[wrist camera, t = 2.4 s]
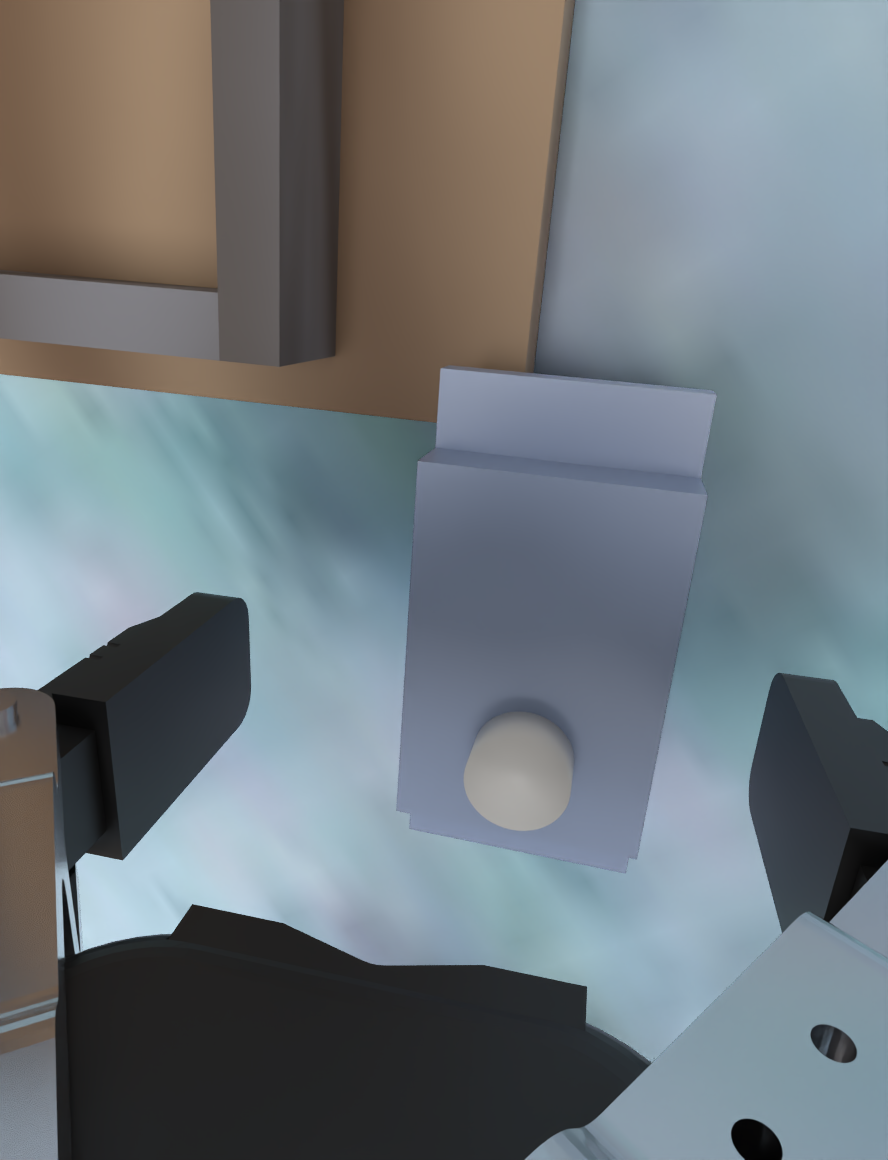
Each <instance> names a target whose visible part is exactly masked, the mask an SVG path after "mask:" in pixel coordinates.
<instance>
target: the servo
mask: <svg viewBox="0 0 888 1160" xmlns="http://www.w3.org/2000/svg"><path fill="white" fill-rule="evenodd" d="M716 397H717V394H716V393H715V392H714V391H713V390H704V389H694V388H683V387H673V386H662V385H652V384H641V383H631V382H620V381H610V380H599V379H588V378H578V377H567V376H557V375H546V374H536V373H525V372H515V371H504V370H494V369H483V368H473V367H462V366H452V365H448V366H446V367H443V368H441V371H440V385H439V400H438V415H437V429H436V444H435V448H434V449H433V450H432V451H430V452H429V453H428V454H426V455H425V456H424V457H422V458H421V459H420V460H418V463H417V480H416V496H415V513H414V529H413V546H412V562H411V579H410V595H409V612H408V628H407V645H406V662H405V678H404V695H403V711H402V728H401V744H400V761H399V777H398V794H397V810H396V811H400V812H405V813H410V826H409V829H413V830H418V831H423V832H427V833H432V834H437V835H442V836H447V837H452V838H456V839H461V840H466V841H471V842H476V843H481V844H486V845H490V846H495V847H500V848H505V849H510V850H515V851H519V852H524V853H529V854H534V855H539V856H544V857H548V858H553V859H558V860H563V861H568V862H573V863H578V864H582V865H587V866H592V867H597V868H602V869H607V870H611V871H616V872H621V873H626V869H627V864H628V859H629V858H632V859H637V856H638V851H639V846H640V841H641V836H642V830H643V825H644V820H645V815H646V810H647V805H648V800H649V795H650V789H651V784H652V779H653V774H654V769H655V764H656V759H657V754H658V748H659V743H660V738H661V733H662V728H663V723H664V718H665V713H666V707H667V702H668V697H669V692H670V687H671V682H672V677H673V672H674V666H675V661H676V656H677V651H678V646H679V641H680V636H681V631H682V625H683V620H684V615H685V610H686V605H687V600H688V595H689V590H690V584H691V579H692V574H693V569H694V564H695V559H696V554H697V549H698V543H699V538H700V533H701V528H702V523H703V518H704V513H705V508H706V502H707V497H708V494H707V492H706V490H705V487H704V485H703V482H702V480H701V475H702V470H703V465H704V460H705V454H706V449H707V444H708V439H709V433H710V428H711V423H712V418H713V412H714V407H715V402H716Z"/></svg>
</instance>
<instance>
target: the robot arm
mask: <svg viewBox="0 0 888 1160" xmlns="http://www.w3.org/2000/svg"><path fill="white" fill-rule="evenodd" d="M250 694H251V673H250V642H249V615H248V609H247V605H246V603H245V601H244V600H243V599H241V598H236V597H228V596H221V595H214V594H206V593H199V592H196V593H193V594H191V595H190V596H188V597H187V598H186V599H184V600H183V601H181V602H180V603H179V604H177V605H176V606H174V607H173V608H171V609H170V610H169V611H167V612H166V613H164V614H163V615H162V616H160V617H157V618H155V619H152V620H149V621H146V622H144V623H141V624H138V625H135V626H132V627H130V628H128V629H126V630H125V631H124V632H122V633H121V634H119V635H118V636H116V637H115V638H113V639H112V640H110V641H109V642H108V644H107V646H105V645H103V646H102V647H100V648H99V649H97V650H96V651H94V652H93V653H91V654H90V657H89V658H84V659H83V660H81V661H80V662H78V663H77V664H75V665H74V666H72V667H71V668H70V669H68V670H67V671H65V672H64V673H62V674H61V675H59V676H58V677H56V678H55V679H53V680H52V681H51V682H49V683H48V684H46V685H45V686H43V687H42V688H40V689H39V690H33V689H27V688H2V689H0V1160H888V731H886V730H885V729H884V728H882V727H881V726H880V725H878V724H877V723H876V722H875V721H873V720H867V719H860V718H857V717H856V715H855V713H854V712H853V710H852V708H851V706H850V705H849V703H848V701H847V699H846V698H845V696H844V694H843V693H842V691H841V689H840V687H839V686H838V684H837V683H836V681H834V680H827V679H820V678H813V677H805V676H798V675H791V674H784V673H778V674H776V675H775V677H774V679H773V681H772V683H771V686H770V690H769V694H768V698H767V702H766V707H765V711H764V715H763V720H762V724H761V728H760V733H759V737H758V741H757V746H756V750H755V754H754V759H753V763H752V768H751V773H750V781H749V806H750V812H751V816H752V820H753V824H754V828H755V832H756V835H757V839H758V843H759V847H760V850H761V854H762V858H763V862H764V866H765V869H766V873H767V877H768V881H769V884H770V888H771V892H772V896H773V900H774V903H775V907H776V911H777V915H778V919H779V922H780V926H781V930H782V934H781V935H780V936H779V937H778V938H777V939H776V940H775V941H774V942H773V943H772V944H771V945H770V946H769V947H768V948H767V949H766V950H765V951H764V952H763V953H762V954H761V955H760V956H759V957H758V958H757V959H756V960H755V961H754V962H753V963H752V964H751V965H750V966H749V967H748V968H747V969H746V970H745V971H744V972H743V973H742V974H741V975H740V976H739V977H738V978H737V979H736V980H735V981H734V982H733V983H732V984H731V985H730V986H729V987H728V988H727V989H726V990H725V991H724V992H723V993H722V994H721V995H720V996H719V997H718V998H717V999H716V1000H715V1001H714V1002H713V1003H712V1004H711V1005H710V1006H709V1007H708V1008H707V1009H706V1010H705V1011H704V1012H703V1013H702V1014H701V1015H700V1016H699V1017H698V1018H697V1019H696V1020H695V1021H694V1022H693V1023H692V1024H691V1025H690V1026H689V1027H688V1028H687V1029H686V1030H685V1031H684V1032H683V1033H682V1034H681V1035H680V1036H679V1037H678V1038H677V1039H676V1040H675V1041H674V1042H673V1043H672V1044H671V1045H670V1046H669V1047H668V1048H667V1049H666V1050H665V1051H664V1052H663V1053H662V1054H661V1055H660V1056H659V1057H658V1058H657V1059H656V1060H655V1061H654V1062H653V1063H651V1062H650V1061H648V1060H647V1059H646V1058H644V1057H643V1056H641V1055H640V1054H639V1053H637V1052H636V1051H635V1050H633V1049H632V1048H630V1047H629V1046H628V1045H626V1044H624V1043H623V1042H621V1041H619V1040H618V1039H616V1038H614V1037H613V1036H611V1035H609V1034H607V1033H606V1032H604V1031H602V1030H600V1029H598V1028H596V1027H594V1026H592V1025H590V1024H588V1023H586V999H587V987H585V986H581V985H576V984H571V983H566V982H562V981H557V980H552V979H547V978H542V977H538V976H533V975H528V974H523V973H519V972H514V971H509V970H504V969H499V968H495V967H490V966H485V965H417V966H383V965H374V964H370V963H367V962H365V961H362V960H360V959H358V958H356V957H354V956H352V955H349V954H347V953H345V952H343V951H341V950H339V949H337V948H335V947H332V946H330V945H328V944H326V943H324V942H322V941H320V940H318V939H315V938H313V937H311V936H309V935H307V934H305V933H303V932H301V931H298V930H296V929H294V928H292V927H290V926H288V925H286V924H284V923H279V922H275V921H270V920H265V919H260V918H256V917H251V916H246V915H241V914H236V913H232V912H227V911H222V910H217V909H212V908H208V907H203V906H198V905H193V904H192V906H191V907H190V909H189V910H188V911H187V913H186V914H185V916H184V917H183V919H182V920H181V922H180V923H179V924H178V926H177V927H176V929H175V930H174V932H173V933H172V934H160V935H151V936H142V937H135V938H130V939H125V940H120V941H115V942H111V943H108V944H104V945H101V946H97V947H94V948H90V949H87V950H85V951H83V941H82V926H81V910H80V895H79V881H78V873H77V866H76V862H77V861H78V860H79V859H80V858H81V857H82V856H83V855H84V854H85V853H89V854H94V855H99V856H104V857H109V858H114V859H119V860H123V859H124V858H125V857H126V856H127V855H128V854H129V853H130V851H131V850H132V849H133V848H134V847H135V846H136V844H137V843H138V842H139V841H140V840H141V839H142V838H143V836H144V835H145V834H146V833H147V832H148V831H149V830H150V828H151V827H152V826H153V825H154V824H155V823H156V822H157V820H158V819H159V818H160V817H161V816H162V815H163V813H164V812H165V811H166V810H167V809H168V808H169V807H170V805H171V804H172V803H173V802H174V801H175V800H176V799H177V797H178V796H179V795H180V794H181V793H182V792H183V790H184V789H185V788H186V787H187V786H188V785H189V784H190V782H191V781H192V780H193V779H194V778H195V777H196V776H197V774H198V773H199V772H200V771H201V770H202V769H203V767H204V766H205V765H206V764H207V763H208V762H209V761H210V759H211V758H212V757H213V756H214V755H215V754H216V753H217V751H218V750H219V749H220V748H221V747H222V746H223V744H224V743H225V742H226V741H227V740H228V739H229V738H230V736H231V735H232V734H233V733H234V732H235V731H236V730H237V728H238V727H239V726H240V725H241V723H242V721H243V719H244V717H245V715H246V712H247V709H248V706H249V701H250Z"/></svg>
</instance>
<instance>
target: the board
mask: <svg viewBox="0 0 888 1160" xmlns="http://www.w3.org/2000/svg"><path fill="white" fill-rule="evenodd" d="M574 6H575V0H0V374H5V375H14V376H23V377H32V378H41V379H50V380H59V381H68V382H77V383H86V384H95V385H104V386H113V387H122V388H131V389H140V390H148V391H157V392H166V393H175V394H184V395H193V396H202V397H211V398H220V399H229V400H238V401H247V402H256V403H265V404H274V405H283V406H292V407H301V408H310V409H319V410H328V411H337V412H345V413H354V414H363V415H372V416H381V417H390V418H399V419H408V420H417V421H426V422H435V423H437V415H438V400H439V385H440V371H441V368H443V367H446V366H448V365H452V366H462V367H473V368H483V369H494V370H504V371H515V372H525V373H534V365H535V356H536V347H537V338H538V329H539V320H540V311H541V302H542V293H543V284H544V275H545V266H546V257H547V248H548V239H549V230H550V221H551V212H552V203H553V194H554V185H555V176H556V167H557V158H558V149H559V140H560V131H561V122H562V113H563V104H564V95H565V86H566V77H567V68H568V60H569V51H570V42H571V33H572V24H573V15H574Z"/></svg>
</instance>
